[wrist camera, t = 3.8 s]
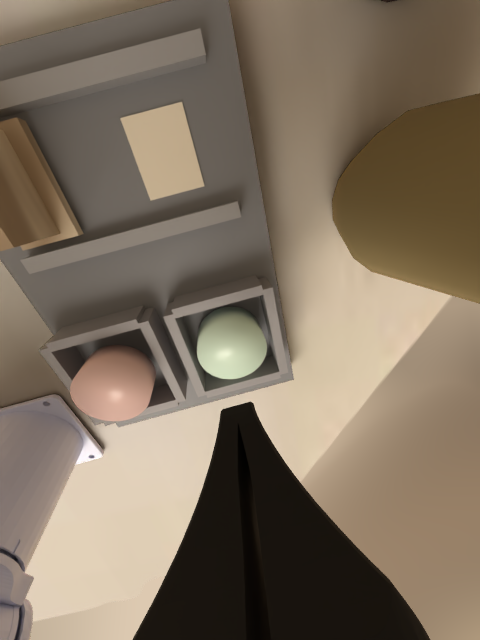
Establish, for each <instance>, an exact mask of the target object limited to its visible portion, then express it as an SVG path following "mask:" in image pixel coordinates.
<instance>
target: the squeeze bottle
mask: <svg viewBox="0 0 480 640" xmlns="http://www.w3.org/2000/svg"><path fill="white" fill-rule="evenodd" d="M332 210H333V221H334V223H335V225H336V227H337V229H338V231H339V234H340V235H341V237H342V239H343V241H344V242H345V244H346V246H347V248H348V249H349V251H350V253H351V255H352V256H353V258H354V259H355V260H357V261H358V262H359V263H361V264H362V265H363V266H365V267H366V268H367V269H369V270H370V271H371V272H375V273H378V274H381V275H385V276H388V277H391V278H395V279H398V280H401V281H405V282H408V283H412V284H415V285H418V286H422V287H425V288H428V289H432V290H435V291H438V292H442V293H445V294H449V295H452V296H455V297H459V298H462V299H465V300H469V301H472V302H476V303H479V304H480V93H479V94H475V95H471V96H466V97H462V98H458V99H453V100H449V101H445V102H441V103H437V104H432V105H428V106H424V107H420V108H416V109H412V110H408V111H407V112H405V113H404V114H403V115H401V116H400V117H399V118H397V119H396V120H395V121H393V122H392V123H391V124H389V125H388V126H387V127H385V128H384V129H383V130H381V131H380V132H379V133H378V134H376V135H375V136H374V137H373V138H372V140H371V141H370V142H369V143H368V144H367V145H366V146H365V147H364V148H363V149H362V150H361V151H360V152H359V153H358V155H357V156H356V157H355V158H354V159H353V160H352V161H351V162H350V164H349V165H348V167H347V168H346V170H345V171H344V172H343V174H342V175H341V177H340V178H339V180H338V183H337V186H336V189H335V193H334V196H333V199H332Z"/></svg>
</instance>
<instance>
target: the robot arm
mask: <svg viewBox="0 0 480 640" xmlns="http://www.w3.org/2000/svg"><path fill="white" fill-rule="evenodd" d="M103 454H104V451H103V449H102V448H101V447H100V445H99V444H98V443H97V442H96V440H95V439H94V438H93V437H92V435H91V434H90V433H89V432H88V430H87V429H86V428H85V427H84V425H83V424H82V423H81V422H80V420H79V419H78V418H77V417H76V415H75V414H74V413H73V412H72V410H71V409H70V408H69V407H68V405H67V404H66V403H65V402H64V400H63V399H62V398H61V397H60V396H59V395H55V394H53V395H48V396H45V397H41V398H37V399H34V400H30V401H26V402H23V403H19V404H15V405H11V406H8V407H4V408H0V640H30V637H31V629H32V621H33V610H32V605H31V603H30V602H29V601H28V600H27V599H25V598H26V595H27V593H28V591H29V589H30V586H31V584H32V582H33V579H34V577H33V576H30V575H28V574H26V573H25V570H26V568H27V566H28V564H29V562H30V560H31V558H32V556H33V553H34V551H35V549H36V547H37V545H38V543H39V541H40V539H41V536H42V534H43V532H44V530H45V528H46V526H47V524H48V522H49V519H50V517H51V515H52V513H53V511H54V509H55V507H56V505H57V502H58V500H59V498H60V496H61V494H62V492H63V490H64V488H65V485H66V483H67V481H68V479H69V477H70V475H71V473H72V471H73V468H74V466H75V465H76V464H80V463H83V462H87V461H91V460H94V459H98V458H101V457H102V456H103ZM133 640H430V638H429V636H428V635H427V633H426V631H425V629H424V628H423V626H422V624H421V623H420V621H419V620H418V618H417V617H416V615H415V614H414V612H413V611H412V609H411V608H410V607H409V605H408V604H407V602H406V601H405V600H404V598H403V597H402V596H401V594H400V593H399V592H398V591H397V589H396V588H395V587H394V585H393V584H392V582H391V581H390V580H389V579H388V578H387V577H386V576H385V575H384V574H383V573H382V572H381V571H380V570H379V569H378V568H377V567H376V566H375V565H374V564H373V563H372V562H371V561H370V560H369V559H368V558H367V557H366V556H365V555H364V554H363V553H362V552H361V551H360V550H359V549H358V548H357V547H356V546H355V545H354V544H353V542H352V541H351V540H350V539H349V538H348V537H347V536H346V535H345V534H344V533H343V532H342V531H341V530H340V529H339V528H338V526H337V525H336V524H335V523H334V522H333V521H332V520H331V519H330V518H329V516H328V515H327V514H326V513H325V512H324V511H323V510H322V509H321V507H320V506H319V505H318V504H317V503H316V502H315V501H314V499H313V498H312V497H311V495H310V494H309V493H308V492H307V491H306V489H305V488H304V487H303V486H302V484H301V483H300V482H299V480H298V479H297V478H296V477H295V475H294V474H293V473H292V471H291V470H290V468H289V467H288V466H287V464H286V463H285V461H284V460H283V458H282V457H281V456H280V454H279V453H278V451H277V450H276V448H275V446H274V445H273V443H272V442H271V440H270V438H269V437H268V435H267V433H266V432H265V430H264V428H263V426H262V424H261V422H260V420H259V418H258V416H257V413H256V411H255V408H254V404H253V403H252V402H248V403H244V404H240V405H237V406H233V407H229V408H226V409H223V410H222V411H221V415H220V422H219V428H218V433H217V438H216V443H215V447H214V451H213V455H212V459H211V462H210V466H209V469H208V472H207V476H206V479H205V482H204V485H203V488H202V491H201V494H200V497H199V500H198V503H197V505H196V508H195V511H194V513H193V516H192V518H191V521H190V523H189V526H188V528H187V530H186V533H185V535H184V538H183V540H182V542H181V545H180V547H179V549H178V551H177V554H176V556H175V558H174V560H173V562H172V564H171V566H170V568H169V570H168V572H167V574H166V576H165V579H164V581H163V583H162V585H161V587H160V589H159V591H158V593H157V595H156V597H155V599H154V601H153V603H152V605H151V607H150V608H149V610H148V612H147V614H146V616H145V618H144V620H143V621H142V623H141V625H140V627H139V629H138V631H137V632H136V634H135V636H134V638H133Z"/></svg>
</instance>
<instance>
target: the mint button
mask: <svg viewBox="0 0 480 640" xmlns="http://www.w3.org/2000/svg"><path fill="white" fill-rule="evenodd" d="M266 352H267V343H266V339H265V337H264V334H263V332H262V330H261V327H260V325H259V323H258V321H257V319H256V318H255V317H254V315H253V314H251V313H250V312H248V311H247V310H245V309H242V308H239V307H223V308H220V309H217V310H215V311H213V312H211V313H210V314H208V315H207V316H206V317H205V318H204V319H203V321H202V322H201V324H200V326H199V329H198V340H197V357H198V360H199V363H200V365H201V366H202V367H203V369H204V370H205V371H207V372H208V373H209V374H211V375H213V376H215V377H218V378H222V379H237V378H241V377H245V376H247V375H249V374H251V373H252V372H254V371H255V370H256V369H257V368H258V367H259V366H260V365H261V364H262V362H263V361H264V359H265V356H266Z"/></svg>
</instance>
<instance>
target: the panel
mask: <svg viewBox="0 0 480 640" xmlns="http://www.w3.org/2000/svg"><path fill="white" fill-rule="evenodd" d="M16 117H17V118H20V119H22V120H25V121H26V123H27V125H28V127H29V129H30V131H31V133H32V134H33V136H34V138H35V140H36V142H37V144H38V146H39V148H40V150H41V152H42V154H43V156H44V158H45V160H46V162H47V164H48V165H49V167H50V169H51V171H52V173H53V175H54V177H55V179H56V181H57V183H58V185H59V187H60V189H61V191H62V193H63V195H64V197H65V198H66V200H67V202H68V204H69V206H70V208H71V210H72V212H73V214H74V216H75V218H76V220H77V222H78V224H79V226H80V228H81V230H82V231H83V233H84V234H82V235H79V236H75V237H72V238H68V239H64V240H61V241H57V242H53V243H49V244H46V245H42V246H38V247H35V248H31V249H27V250H22V248H21V247H20V246H18V247H14V248H11V249H7V250H3V251H0V260H1V261H2V262H3V264H4V265H5V267H6V268H7V269H8V271H9V272H10V274H11V275H12V277H13V278H14V279H15V281H16V282H17V284H18V285H19V287H20V288H21V289H22V291H23V292H24V294H25V295H26V296H27V298H28V299H29V301H30V302H31V304H32V305H33V306H34V308H35V309H36V311H37V312H38V314H39V315H40V316H41V318H42V319H43V321H44V322H45V323H46V325H47V326H48V328H49V329H50V331H51V332H52V333H53V335H54V336H53V337H52V338H51V339H50V340H49V341H47V342H46V343H45V345H44V346H43V347H41V348H40V349H39V350H38V351H39V353H40V354H41V355H42V357H43V358H44V359H45V360H46V362H47V363H48V364H49V366H50V367H51V368H52V370H53V371H54V372H55V373H56V375H57V376H58V377H59V379H60V380H61V381H62V383H63V384H64V385H65V387H66V388H67V389H68V390H69V392H70V386H71V383H72V381H73V379H74V377H75V376H76V374H77V373H78V372H79V370H80V369H81V367H82V366H83V364H84V363H85V362H86V360H87V359H88V357H89V356H90V355H91V354H92V353H93V352H94V351H96V350H97V349H100V348H102V347H105V346H109V345H124V346H129V347H132V348H135V349H137V350H139V351H141V352H143V353H144V354H145V355H146V356H148V357H149V358H150V360H151V361H152V363H153V364H154V367H155V370H156V379H155V383H154V387H153V390H152V394H151V398H150V402H149V404H148V406H147V408H146V409H145V410H144V411H143V412H142V413H141V414H139V415H138V416H136V417H134V418H131V419H128V420H124V421H104V420H100V419H96V418H94V417H91V416H89V415H88V417H89V418H90V419H91V420H92V422H93V423H94V424H95V425H98V424H101V423H104V424H105V426H106V425H110V424H114V423H116V424H117V426H118V427H121V426H125V425H129V424H132V423H136V422H140V421H143V420H147V419H151V418H154V417H158V416H162V415H165V414H169V413H173V412H176V411H180V410H184V409H188V408H191V407H195V406H199V405H202V404H206V403H210V402H213V401H217V400H221V399H224V398H228V397H232V396H235V395H239V394H243V393H246V392H250V391H254V390H257V389H261V388H265V387H268V386H272V385H276V384H279V383H283V382H287V381H290V380H294V378H293V372H292V366H291V360H290V354H289V349H288V343H287V337H286V331H285V325H284V320H283V314H282V308H281V302H280V296H279V291H278V285H277V279H276V273H275V267H274V262H273V256H272V250H271V244H270V238H269V233H268V227H267V221H266V215H265V209H264V204H263V198H262V192H261V186H260V180H259V175H258V169H257V163H256V157H255V151H254V146H253V140H252V134H251V128H250V122H249V117H248V111H247V105H246V99H245V93H244V88H243V82H242V76H241V70H240V64H239V59H238V53H237V47H236V41H235V35H234V30H233V24H232V18H231V12H230V6H229V1H228V0H172V1H168V2H164V3H160V4H156V5H153V6H149V7H145V8H141V9H138V10H134V11H130V12H126V13H123V14H119V15H115V16H111V17H107V18H104V19H100V20H96V21H92V22H89V23H85V24H81V25H77V26H74V27H70V28H66V29H62V30H58V31H55V32H51V33H47V34H43V35H40V36H36V37H32V38H28V39H25V40H21V41H17V42H13V43H9V44H6V45H2V46H0V122H1V121H5V120H9V119H12V118H16ZM223 307H239V308H242V309H245V310H247V311H248V312H250V313H251V314H253V315H254V317H255V318H256V319H257V321H258V323H259V325H260V327H261V330H262V332H263V334H264V337H265V339H266V343H267V352H266V356H265V359H264V361H263V362H262V364H261V365H260V366H259V367H258V368H257V369H256V370H255V371H254V372H252V373H251V374H249V375H247V376H245V377H241V378H237V379H222V378H218V377H215V376H213V375H211V374H209V373H208V372H207V371H205V370H204V369H203V367H202V366H201V365H200V363H199V360H198V357H197V340H198V329H199V326H200V324H201V322H202V321H203V319H204V318H205V317H206V316H207V315H208V314H210V313H211V312H213V311H215V310H217V309H220V308H223Z"/></svg>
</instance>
